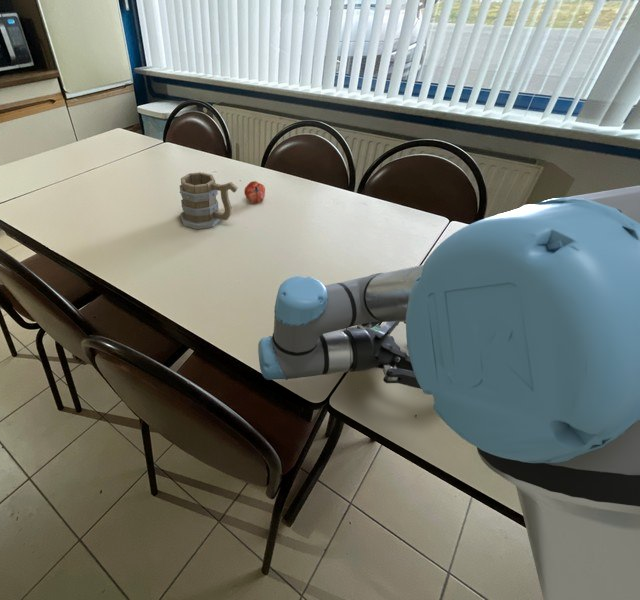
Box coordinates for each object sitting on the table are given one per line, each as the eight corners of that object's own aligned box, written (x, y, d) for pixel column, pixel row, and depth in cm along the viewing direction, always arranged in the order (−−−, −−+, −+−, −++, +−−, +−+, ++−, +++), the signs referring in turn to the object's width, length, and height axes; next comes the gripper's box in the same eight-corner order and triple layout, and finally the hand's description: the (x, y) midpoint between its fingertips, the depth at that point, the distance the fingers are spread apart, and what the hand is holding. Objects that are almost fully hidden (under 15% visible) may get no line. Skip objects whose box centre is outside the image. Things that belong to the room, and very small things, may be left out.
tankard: (174, 222, 120) (168, 178, 110) (196, 207, 129) (192, 164, 119) (226, 238, 113) (224, 193, 103) (245, 221, 121) (246, 177, 111)
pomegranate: (242, 203, 135) (243, 198, 125) (245, 184, 135) (246, 176, 125) (262, 206, 135) (264, 201, 125) (265, 186, 135) (267, 179, 125)
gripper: (321, 317, 77) (416, 309, 79) (367, 425, 59) (489, 410, 61) (327, 290, 72) (428, 281, 74) (379, 398, 54) (512, 383, 56)
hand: (456, 339), depth 67 cm, fingers open, 13 cm apart
